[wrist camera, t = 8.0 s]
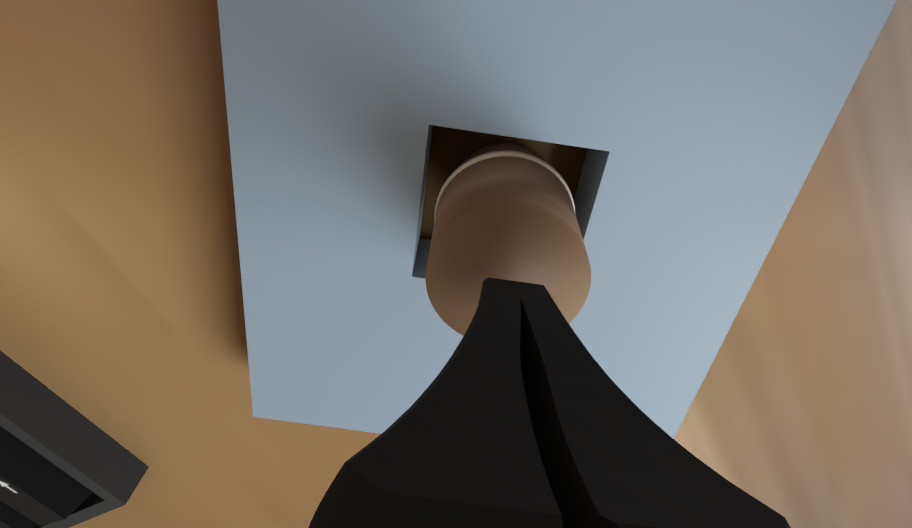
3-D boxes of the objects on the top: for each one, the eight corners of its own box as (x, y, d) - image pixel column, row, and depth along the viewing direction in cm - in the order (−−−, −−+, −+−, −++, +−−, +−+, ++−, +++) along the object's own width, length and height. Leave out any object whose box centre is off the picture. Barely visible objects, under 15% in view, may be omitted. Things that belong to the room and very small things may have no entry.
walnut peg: (578, 133, 18) (614, 221, 12) (548, 243, 20) (568, 357, 15) (450, 112, 17) (434, 193, 12) (433, 226, 20) (414, 335, 15)
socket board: (899, -144, 14) (975, -155, 11) (642, 421, 24) (657, 470, 22) (240, -254, 13) (192, -287, 11) (274, 372, 24) (253, 416, 22)
